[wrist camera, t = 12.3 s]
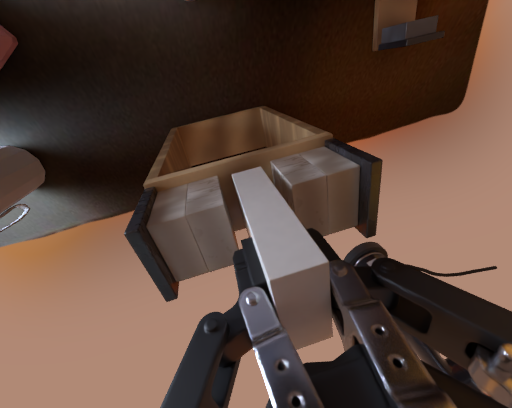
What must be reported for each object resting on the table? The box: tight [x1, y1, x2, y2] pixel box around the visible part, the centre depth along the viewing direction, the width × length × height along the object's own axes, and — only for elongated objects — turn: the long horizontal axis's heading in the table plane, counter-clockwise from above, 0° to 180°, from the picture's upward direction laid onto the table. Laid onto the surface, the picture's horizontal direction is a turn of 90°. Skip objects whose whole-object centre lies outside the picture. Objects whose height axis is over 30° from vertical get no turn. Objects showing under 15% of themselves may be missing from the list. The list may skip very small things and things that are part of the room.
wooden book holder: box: [124, 132, 382, 302], centre depth 18 cm, size 16×7×7 cm, turn 101°
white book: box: [232, 166, 333, 350], centre depth 15 cm, size 2×5×11 cm, turn 12°
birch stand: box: [146, 105, 326, 180], centre depth 30 cm, size 16×7×22 cm, turn 101°
